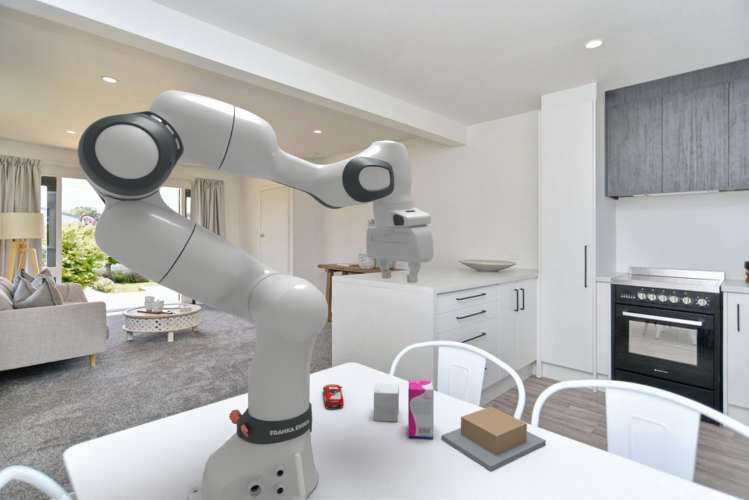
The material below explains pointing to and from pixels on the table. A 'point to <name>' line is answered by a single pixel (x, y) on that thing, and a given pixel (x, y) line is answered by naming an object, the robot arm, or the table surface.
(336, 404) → the race car
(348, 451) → the table surface
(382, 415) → the product box
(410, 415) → the supplement box
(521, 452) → the build base
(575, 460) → the table surface
